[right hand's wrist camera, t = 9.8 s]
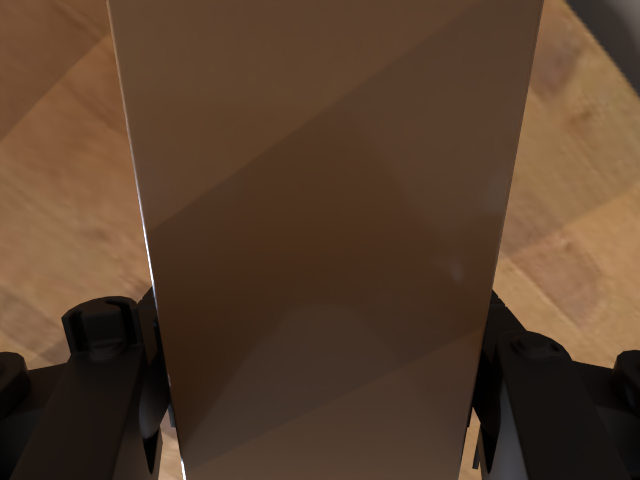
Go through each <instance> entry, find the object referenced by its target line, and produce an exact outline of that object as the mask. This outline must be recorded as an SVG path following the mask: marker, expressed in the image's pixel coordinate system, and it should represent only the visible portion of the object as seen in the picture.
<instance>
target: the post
mask: <svg viewBox="0 0 640 480" xmlns="http://www.w3.org/2000/svg"><path fill="white" fill-rule="evenodd" d="M543 2H544V0H106V3H107V9H108V15H109V21H110V27H111V34H112V40H113V46H114V52H115V58H116V64H117V70H118V76H119V83H120V89H121V95H122V101H123V107H124V113H125V119H126V125H127V132H128V138H129V144H130V150H131V156H132V162H133V168H134V174H135V181H136V187H137V193H138V199H139V205H140V211H141V217H142V223H143V229H144V236H145V242H146V248H147V254H148V260H149V266H150V272H151V278H152V285H153V291H154V297H155V303H156V309H157V315H158V321H159V327H160V334H161V340H162V346H163V352H164V358H165V364H166V370H167V376H168V383H169V389H170V395H171V401H172V407H173V413H174V419H175V425H176V431H177V438H178V444H179V450H180V456H181V462H182V468H183V474H184V480H458V477H459V471H460V466H461V460H462V455H463V449H464V444H465V438H466V432H467V427H468V421H469V416H470V410H471V404H472V399H473V393H474V388H475V382H476V377H477V371H478V365H479V360H480V354H481V349H482V343H483V337H484V332H485V326H486V321H487V315H488V310H489V304H490V298H491V293H492V287H493V282H494V276H495V270H496V265H497V259H498V254H499V248H500V243H501V237H502V231H503V226H504V220H505V215H506V209H507V203H508V198H509V192H510V187H511V181H512V176H513V170H514V164H515V159H516V153H517V148H518V142H519V136H520V131H521V125H522V120H523V114H524V109H525V103H526V97H527V92H528V86H529V81H530V75H531V69H532V64H533V58H534V53H535V47H536V42H537V36H538V30H539V25H540V19H541V14H542V8H543Z"/></svg>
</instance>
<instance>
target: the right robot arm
mask: <svg viewBox="0 0 640 480" xmlns="http://www.w3.org/2000/svg"><path fill="white" fill-rule="evenodd" d="M61 319H62V323H63V327H64V330H65V334H66V338H67V341H68V345H69V349H70V352H71V356H70V358H69V360H68V362H67V363H63V364H59V365H54V366H49V367H44V368H39V369H34V370H27V366H26V363H25V360H24V358H23V357H22V356H21V355H19V354H18V353H12V352H0V480H158V477H159V468H160V460H161V452H162V444H163V441H162V434H161V429H160V423H161V421H162V419H163V417H164V415H165V413H166V411H167V408H168V412H169V417H170V423H171V427H176V425H175V419H174V413H173V407H172V401H171V395H170V389H169V383H168V376H167V370H166V364H165V358H164V352H163V346H162V340H161V334H160V327H159V321H158V315H157V309H156V303H155V297H154V291H153V286H152V287H151V288H150V289H149V290H148V292H147V293H146V294H145V295H144V296H143V299H142V300H140V301H139V302H138V304H137V302H135V301H134V300H132V299H131V298H128V297H123V296H107V297H102V298H97V299H93V300H90V301H87V302H84V303H81V304H79V305H77V306H75V307H74V308H72V309H70V310H68V311H67V312H66V313H65V314H64V315H63V316H62V317H61ZM472 408H474V410H475V412H476V414H477V416H478V418H479V421H480V423H481V424H480V429H479V434H478V439H477V445H476V450H475V455H474V461H473V467H472V468H473V469H478V466H479V461H480V467H481V476H482V480H640V350H630V351H623V352H622V353H621V354H619V355H618V356H617V359H616V362H615V365H614V368H613V369H611V368H606V367H601V366H596V365H590V364H585V363H580V362H576V361H572V359H571V357H570V355H569V353H568V352H567V351H566V350H565V349H564V347H563V346H562V345H560V344H559V343H557V342H556V341H554V340H553V339H551V338H549V337H546V336H544V335H542V334H539V333H535V332H531V331H527V330H526V329H525V328H524V327H523V326H522V324H521V323H520V322H519V321H518V320H517V318H516V317H515V316H514V315H513V314H512V312H511V311H510V310H509V309H508V307H505V304H504V303H503V301H502V300H501V299H500V298H498V295H497V294H496V293H495V292H494V291H493V289H492V293H491V298H490V304H489V310H488V315H487V321H486V326H485V332H484V337H483V343H482V349H481V354H480V360H479V365H478V371H477V377H476V382H475V388H474V393H473V399H472V404H471V410H470V416H469V421H468V427H469V425H470V419H471V414H472Z"/></svg>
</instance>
